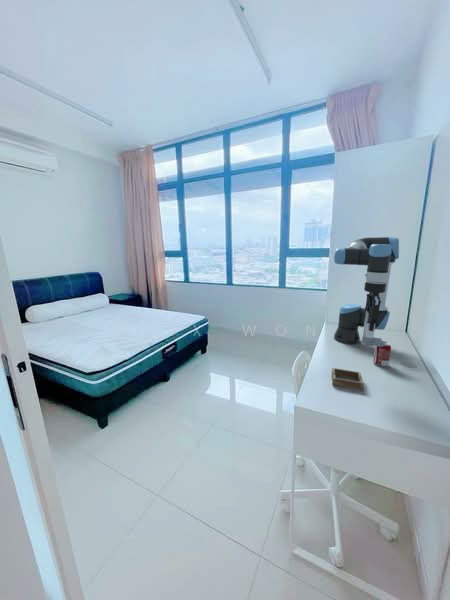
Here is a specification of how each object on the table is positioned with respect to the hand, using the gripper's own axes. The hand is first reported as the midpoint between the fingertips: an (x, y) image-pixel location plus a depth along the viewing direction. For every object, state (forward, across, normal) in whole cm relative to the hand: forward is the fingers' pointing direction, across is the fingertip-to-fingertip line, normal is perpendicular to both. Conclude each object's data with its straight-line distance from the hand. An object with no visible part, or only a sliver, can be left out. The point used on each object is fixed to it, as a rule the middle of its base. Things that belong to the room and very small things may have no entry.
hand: (368, 334), depth 107 cm
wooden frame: (+23, +2, -7) cm, 24 cm away
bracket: (+4, 0, +2) cm, 4 cm away
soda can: (+23, -22, +12) cm, 34 cm away
